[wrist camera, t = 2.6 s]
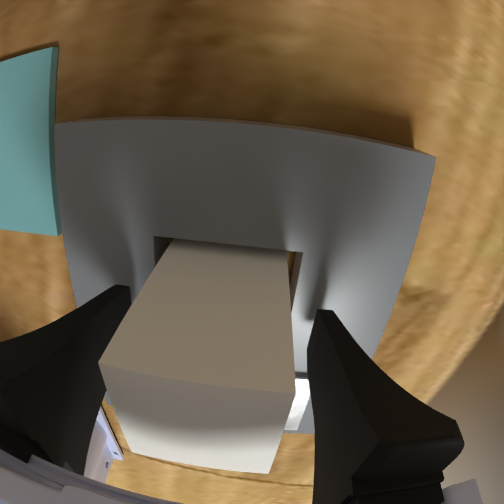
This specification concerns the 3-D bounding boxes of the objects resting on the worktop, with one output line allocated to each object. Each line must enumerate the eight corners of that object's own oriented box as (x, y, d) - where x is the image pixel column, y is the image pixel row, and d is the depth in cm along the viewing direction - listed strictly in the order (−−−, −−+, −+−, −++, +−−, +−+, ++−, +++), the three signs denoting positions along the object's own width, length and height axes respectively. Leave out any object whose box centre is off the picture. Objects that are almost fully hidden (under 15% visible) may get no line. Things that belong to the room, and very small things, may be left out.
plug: (272, 323, 16) (268, 473, 8) (181, 312, 16) (131, 452, 8) (285, 239, 14) (295, 393, 6) (180, 228, 14) (98, 362, 6)
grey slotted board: (331, 408, 19) (334, 437, 16) (117, 381, 19) (105, 407, 17) (414, 148, 11) (440, 159, 9) (80, 118, 12) (49, 124, 9)
